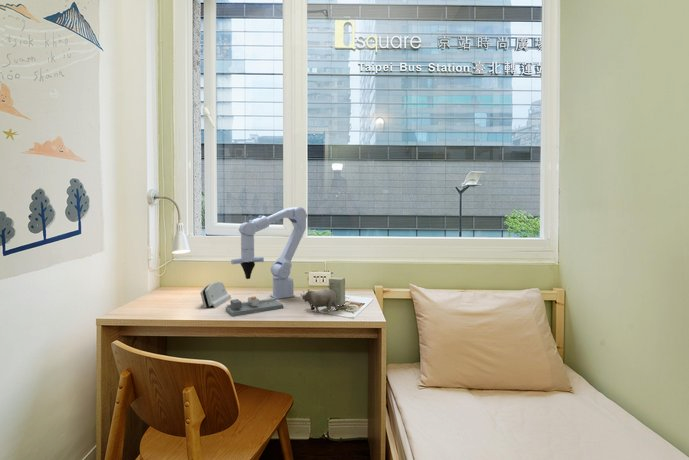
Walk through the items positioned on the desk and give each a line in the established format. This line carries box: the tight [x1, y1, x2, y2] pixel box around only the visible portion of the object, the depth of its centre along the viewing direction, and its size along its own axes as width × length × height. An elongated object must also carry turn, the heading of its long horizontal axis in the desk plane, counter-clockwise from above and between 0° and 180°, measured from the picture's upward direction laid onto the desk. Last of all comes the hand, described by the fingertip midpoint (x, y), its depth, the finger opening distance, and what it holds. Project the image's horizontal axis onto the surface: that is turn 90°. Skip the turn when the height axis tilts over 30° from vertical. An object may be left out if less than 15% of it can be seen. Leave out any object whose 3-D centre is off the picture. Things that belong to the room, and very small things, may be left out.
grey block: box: [247, 296, 260, 306], centre depth 157 cm, size 3×5×4 cm, turn 34°
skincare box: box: [328, 276, 346, 307], centre depth 165 cm, size 6×4×12 cm
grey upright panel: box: [200, 281, 232, 309], centre depth 167 cm, size 17×5×10 cm, turn 173°
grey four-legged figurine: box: [300, 288, 339, 314], centre depth 156 cm, size 8×14×15 cm
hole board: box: [225, 297, 284, 317], centre depth 157 cm, size 22×9×5 cm, turn 124°
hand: (247, 278), depth 170 cm, fingers closed
